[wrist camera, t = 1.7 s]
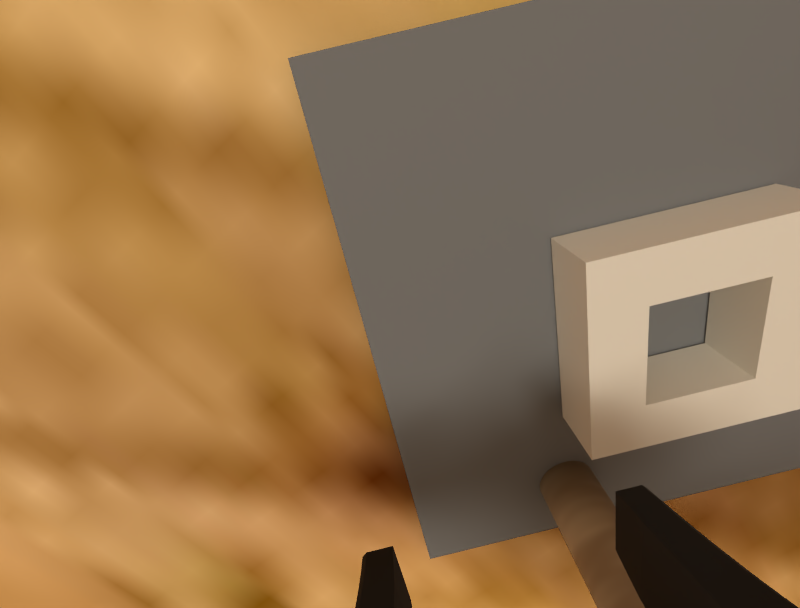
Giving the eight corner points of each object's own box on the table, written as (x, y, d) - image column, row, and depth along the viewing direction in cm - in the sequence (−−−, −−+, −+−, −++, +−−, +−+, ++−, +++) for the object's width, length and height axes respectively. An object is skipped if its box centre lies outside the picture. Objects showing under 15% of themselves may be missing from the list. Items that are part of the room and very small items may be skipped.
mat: (1090, -130, 13) (1121, -139, 13) (889, 433, 23) (903, 442, 22) (290, 59, 13) (288, 58, 13) (428, 547, 23) (430, 558, 22)
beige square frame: (775, 183, 16) (848, 199, 13) (746, 371, 19) (800, 409, 17) (551, 237, 16) (585, 262, 13) (562, 416, 19) (591, 460, 17)
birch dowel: (591, 455, 20) (702, 618, 14) (593, 493, 21) (696, 661, 15) (537, 468, 20) (624, 638, 14) (541, 506, 21) (623, 679, 15)
